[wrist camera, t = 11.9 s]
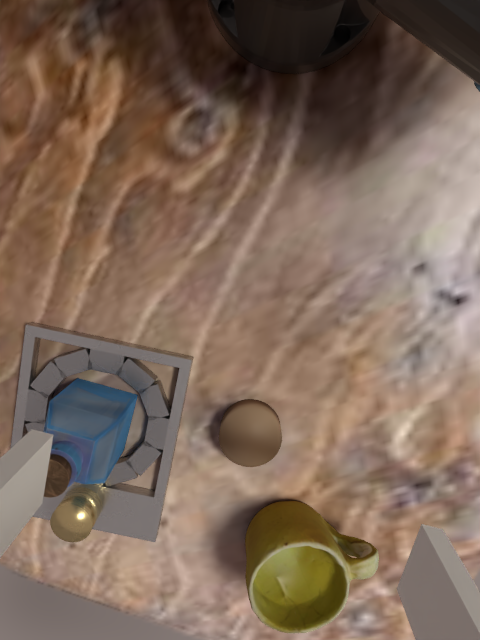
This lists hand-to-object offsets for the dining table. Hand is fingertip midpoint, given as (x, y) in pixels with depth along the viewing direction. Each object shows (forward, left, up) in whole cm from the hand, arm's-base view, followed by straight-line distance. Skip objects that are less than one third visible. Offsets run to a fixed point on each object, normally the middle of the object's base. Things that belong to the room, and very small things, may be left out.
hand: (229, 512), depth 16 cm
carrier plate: (+13, -12, -28) cm, 34 cm away
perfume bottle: (+11, -12, -29) cm, 33 cm away
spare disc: (+9, +3, -28) cm, 30 cm away
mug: (+19, +11, -29) cm, 36 cm away
